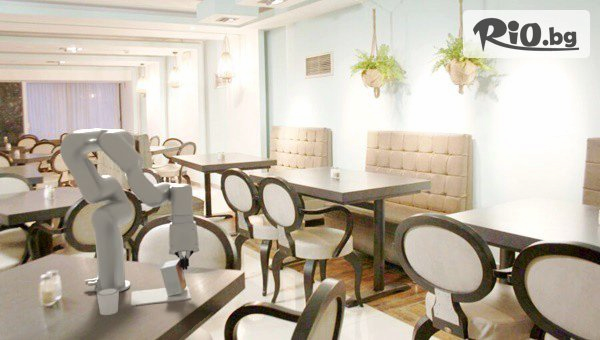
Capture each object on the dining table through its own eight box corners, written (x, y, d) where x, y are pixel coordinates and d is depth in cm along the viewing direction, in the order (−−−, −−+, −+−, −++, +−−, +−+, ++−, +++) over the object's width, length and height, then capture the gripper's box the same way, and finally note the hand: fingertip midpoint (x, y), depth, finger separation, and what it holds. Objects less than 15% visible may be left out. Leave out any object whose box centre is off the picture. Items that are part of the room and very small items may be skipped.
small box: (182, 293, 184) (175, 265, 183) (167, 296, 185) (160, 268, 183) (187, 285, 192) (180, 258, 191) (172, 288, 192) (165, 261, 191)
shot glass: (107, 317, 169) (105, 296, 168) (93, 313, 172) (92, 292, 171) (124, 310, 175) (123, 290, 174) (110, 306, 178) (109, 286, 177)
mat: (131, 306, 178) (131, 304, 178) (131, 292, 190) (131, 291, 190) (191, 299, 184) (191, 297, 183) (187, 286, 196) (187, 285, 196)
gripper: (161, 222, 180) (163, 274, 182) (205, 219, 184) (207, 269, 187) (160, 218, 187) (162, 267, 189) (202, 215, 191) (204, 263, 194)
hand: (184, 268), depth 188 cm, fingers closed
